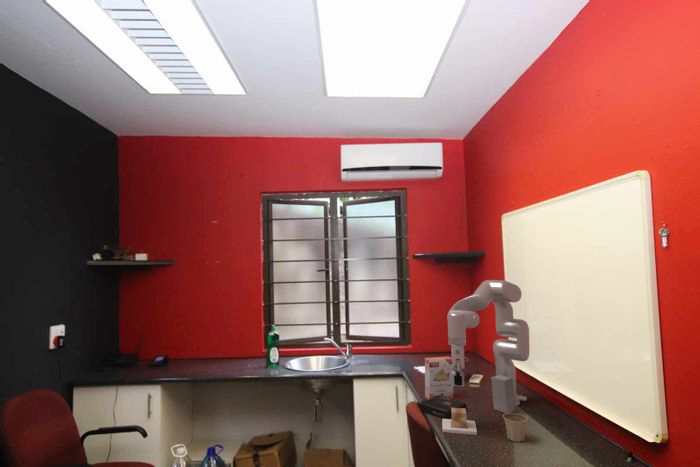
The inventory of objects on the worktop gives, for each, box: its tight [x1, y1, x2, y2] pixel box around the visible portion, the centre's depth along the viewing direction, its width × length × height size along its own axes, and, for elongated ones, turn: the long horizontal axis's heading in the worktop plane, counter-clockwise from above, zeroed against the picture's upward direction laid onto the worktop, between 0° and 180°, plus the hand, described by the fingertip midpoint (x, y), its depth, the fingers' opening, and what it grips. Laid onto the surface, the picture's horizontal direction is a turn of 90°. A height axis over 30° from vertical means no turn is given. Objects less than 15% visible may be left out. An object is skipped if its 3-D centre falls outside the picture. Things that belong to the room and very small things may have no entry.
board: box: [441, 418, 478, 436], centre depth 180 cm, size 14×12×1 cm
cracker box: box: [424, 356, 454, 400], centre depth 219 cm, size 14×6×21 cm, turn 105°
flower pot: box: [502, 412, 528, 443], centre depth 168 cm, size 9×9×9 cm
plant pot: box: [446, 355, 470, 381], centre depth 254 cm, size 14×14×13 cm
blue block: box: [452, 371, 465, 387], centre depth 181 cm, size 5×5×5 cm
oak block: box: [451, 408, 467, 428], centre depth 180 cm, size 6×6×6 cm
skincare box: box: [490, 375, 517, 414], centre depth 201 cm, size 8×7×16 cm
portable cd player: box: [417, 396, 468, 420], centre depth 201 cm, size 16×17×4 cm
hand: (457, 382), depth 181 cm, fingers closed on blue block, 5 cm apart
